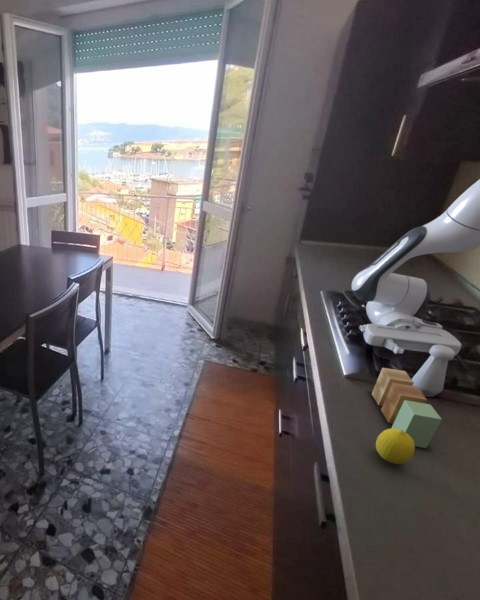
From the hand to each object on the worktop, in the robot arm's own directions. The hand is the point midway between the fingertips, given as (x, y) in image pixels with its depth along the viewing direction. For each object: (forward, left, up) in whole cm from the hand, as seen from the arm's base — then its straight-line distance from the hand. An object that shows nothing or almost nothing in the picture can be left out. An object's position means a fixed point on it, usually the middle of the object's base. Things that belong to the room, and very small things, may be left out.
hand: (422, 354), depth 92 cm
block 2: (+13, +17, -7) cm, 23 cm away
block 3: (+14, +23, -7) cm, 28 cm away
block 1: (+12, +11, -7) cm, 18 cm away
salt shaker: (+1, +6, -7) cm, 10 cm away
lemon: (+22, +30, -7) cm, 38 cm away
